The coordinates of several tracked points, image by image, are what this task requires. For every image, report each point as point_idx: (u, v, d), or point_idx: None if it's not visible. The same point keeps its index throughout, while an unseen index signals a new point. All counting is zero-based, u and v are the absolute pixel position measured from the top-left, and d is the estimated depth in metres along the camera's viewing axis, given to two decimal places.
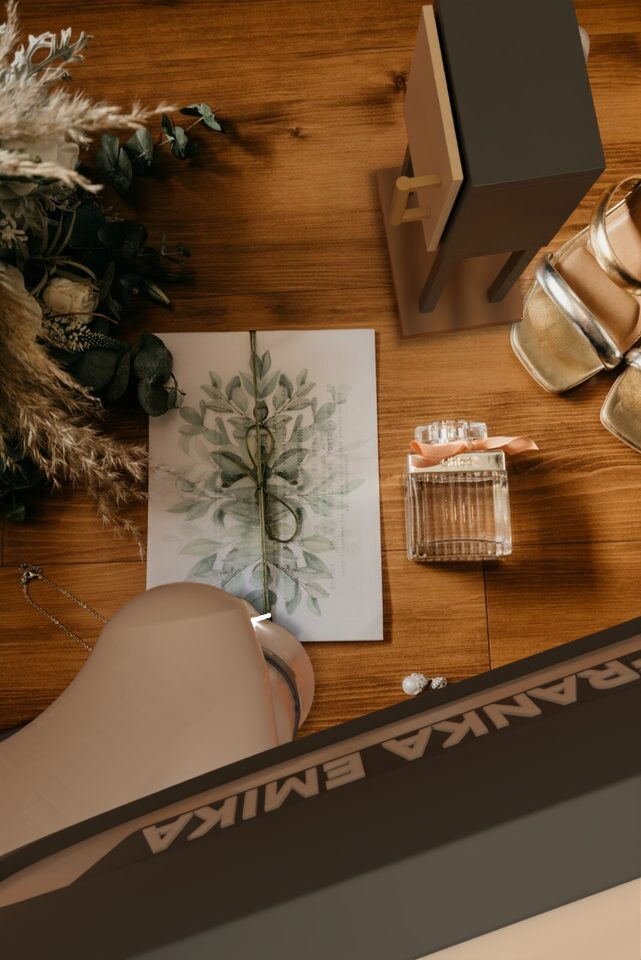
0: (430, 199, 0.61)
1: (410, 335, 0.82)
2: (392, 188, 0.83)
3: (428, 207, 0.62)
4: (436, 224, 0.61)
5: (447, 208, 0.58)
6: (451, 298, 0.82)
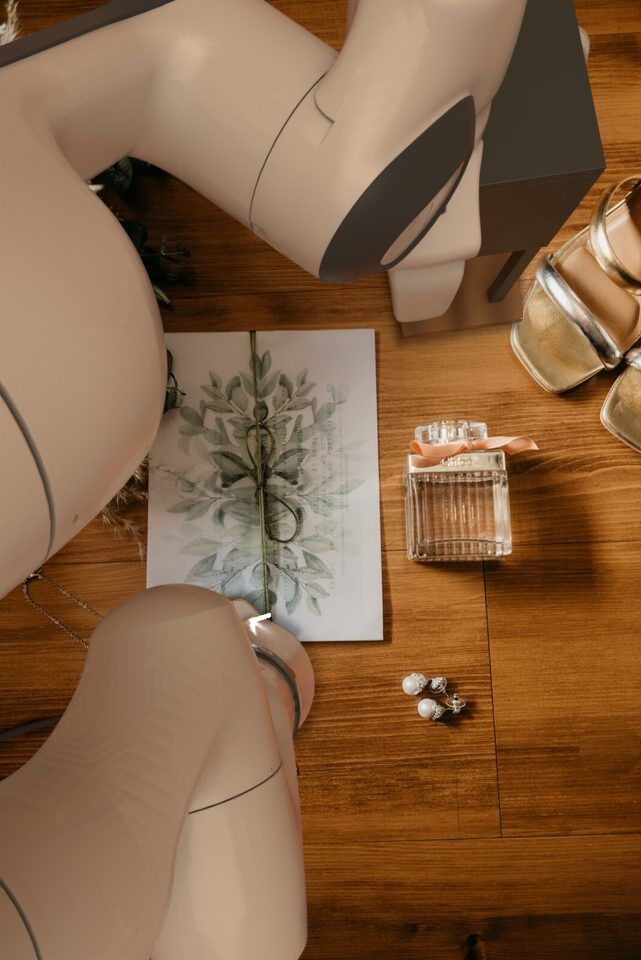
0: None
1: (410, 335, 0.82)
2: None
3: None
4: None
5: None
6: None
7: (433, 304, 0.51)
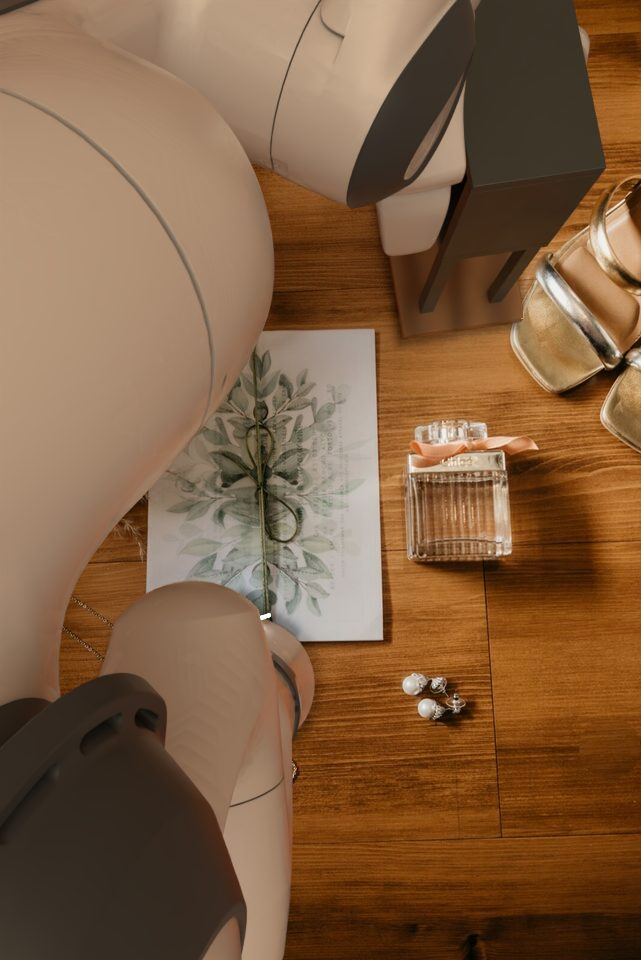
0: None
1: (410, 335, 0.82)
2: None
3: None
4: None
5: None
6: (451, 298, 0.82)
7: (420, 235, 0.51)
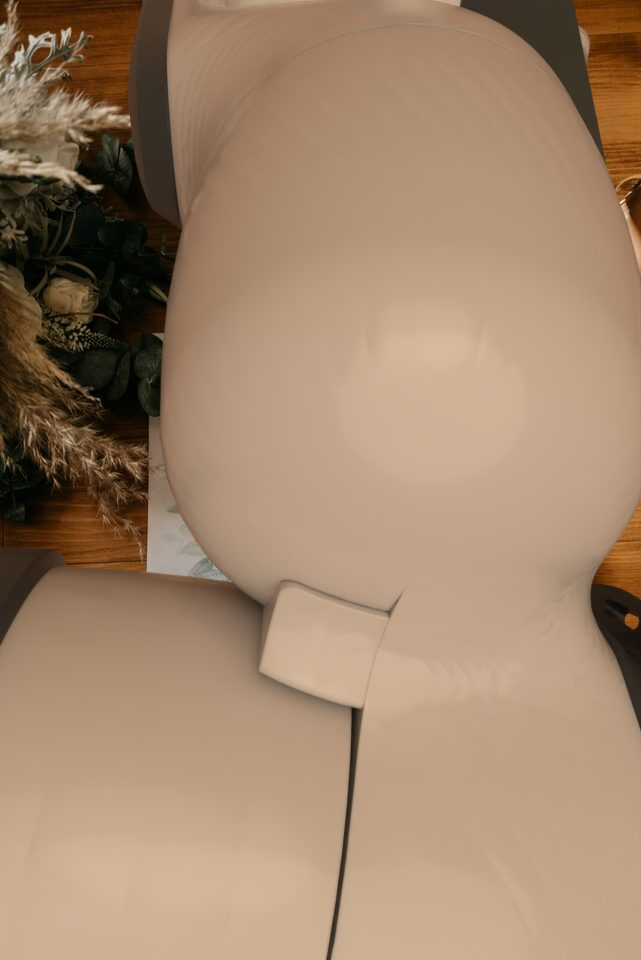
0: None
1: None
2: None
3: None
4: None
5: None
6: None
7: None
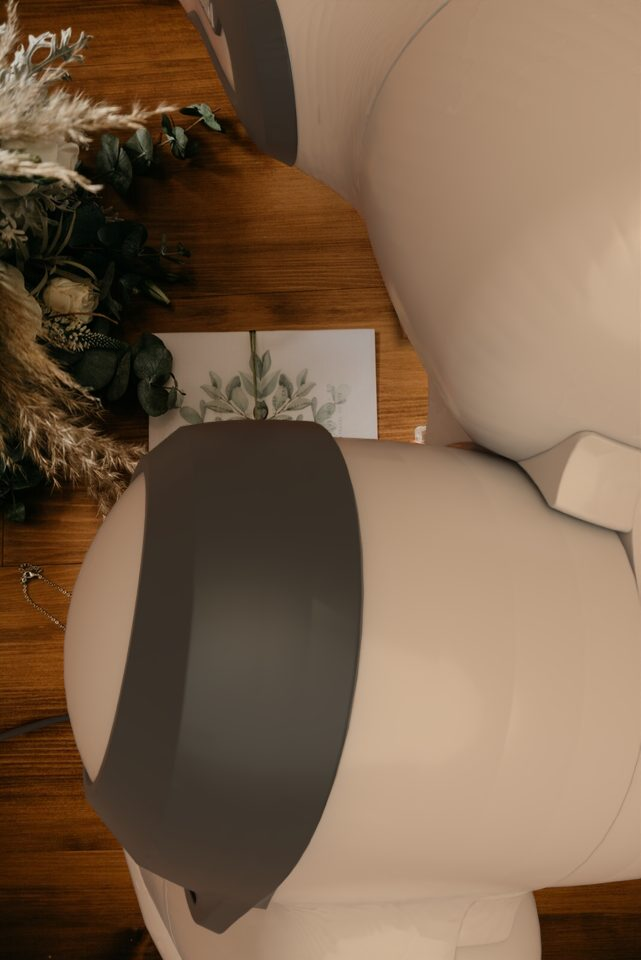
0: None
1: None
2: None
3: None
4: None
5: None
6: None
7: None
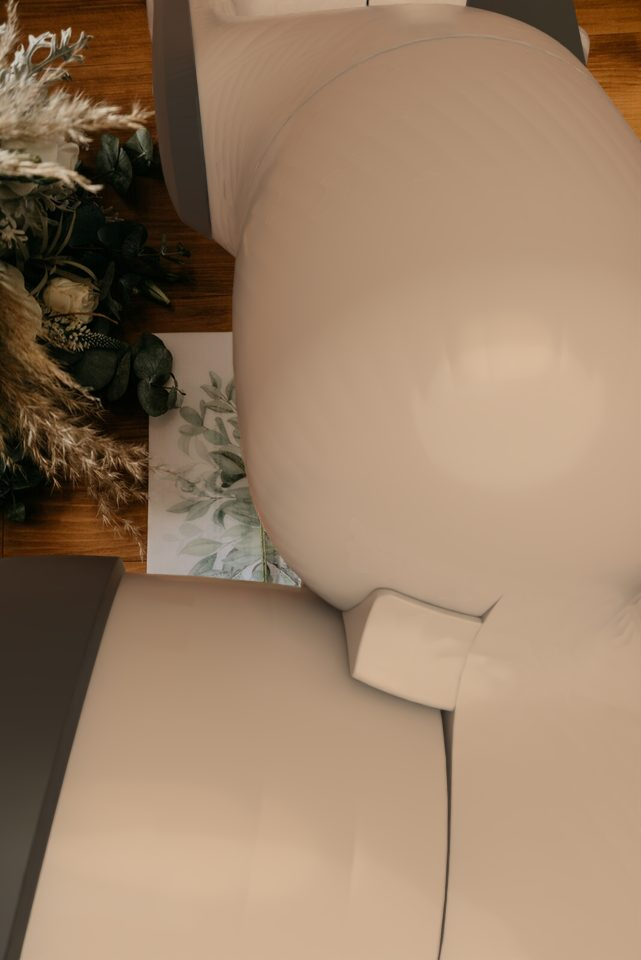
0: None
1: None
2: None
3: None
4: None
5: None
6: None
7: None
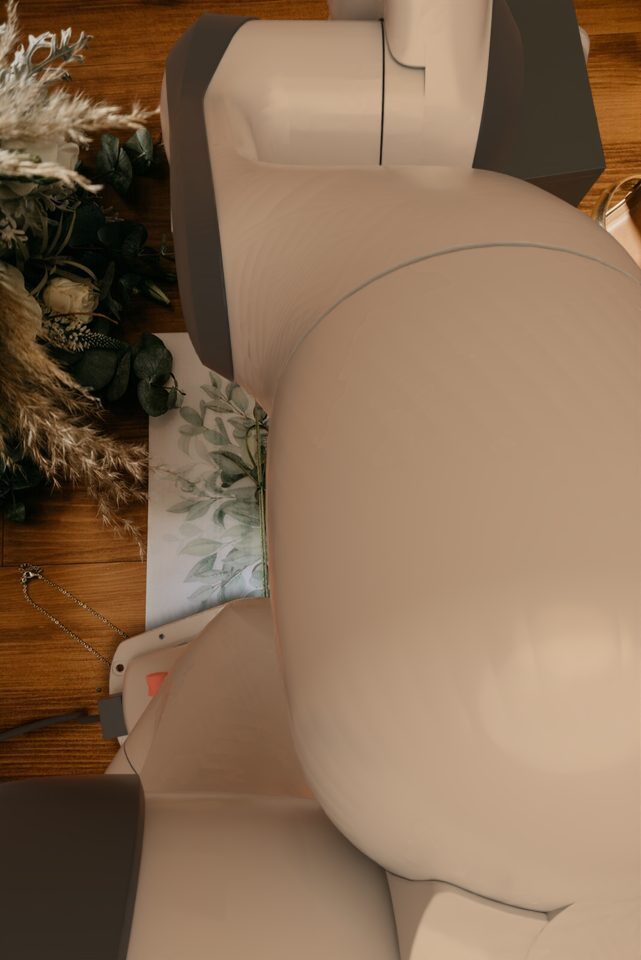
0: None
1: None
2: None
3: None
4: None
5: None
6: None
7: None
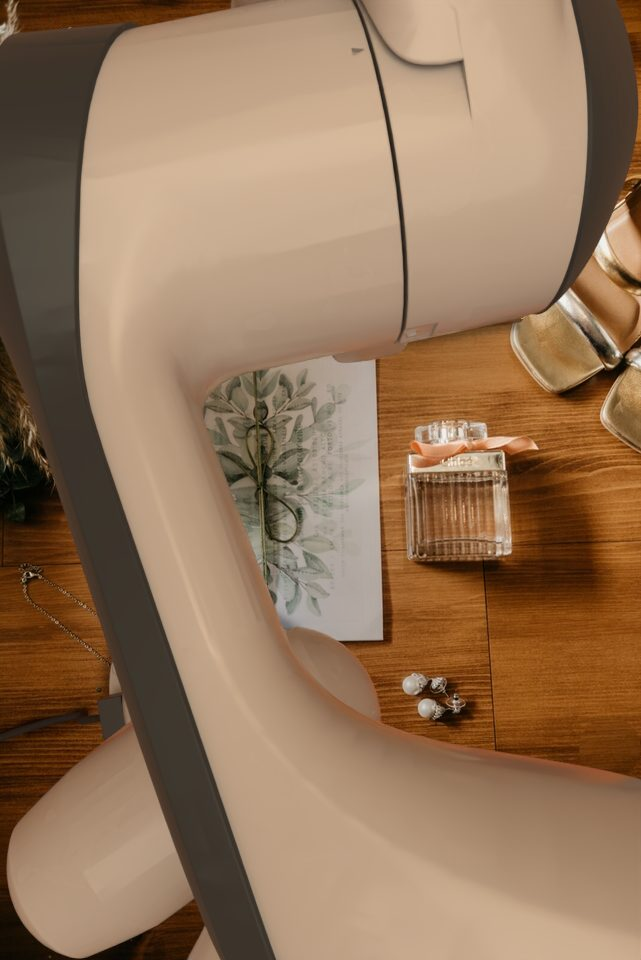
0: None
1: None
2: None
3: None
4: None
5: None
6: None
7: None
